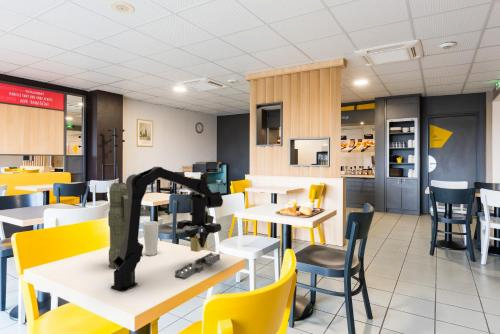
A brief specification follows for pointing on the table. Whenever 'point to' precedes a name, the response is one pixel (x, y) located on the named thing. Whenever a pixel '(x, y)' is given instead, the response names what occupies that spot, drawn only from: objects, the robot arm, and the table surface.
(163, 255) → the table surface
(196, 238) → the link
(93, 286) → the table surface
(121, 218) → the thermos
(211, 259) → the chain end
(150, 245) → the drinking glass
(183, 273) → the chain end
